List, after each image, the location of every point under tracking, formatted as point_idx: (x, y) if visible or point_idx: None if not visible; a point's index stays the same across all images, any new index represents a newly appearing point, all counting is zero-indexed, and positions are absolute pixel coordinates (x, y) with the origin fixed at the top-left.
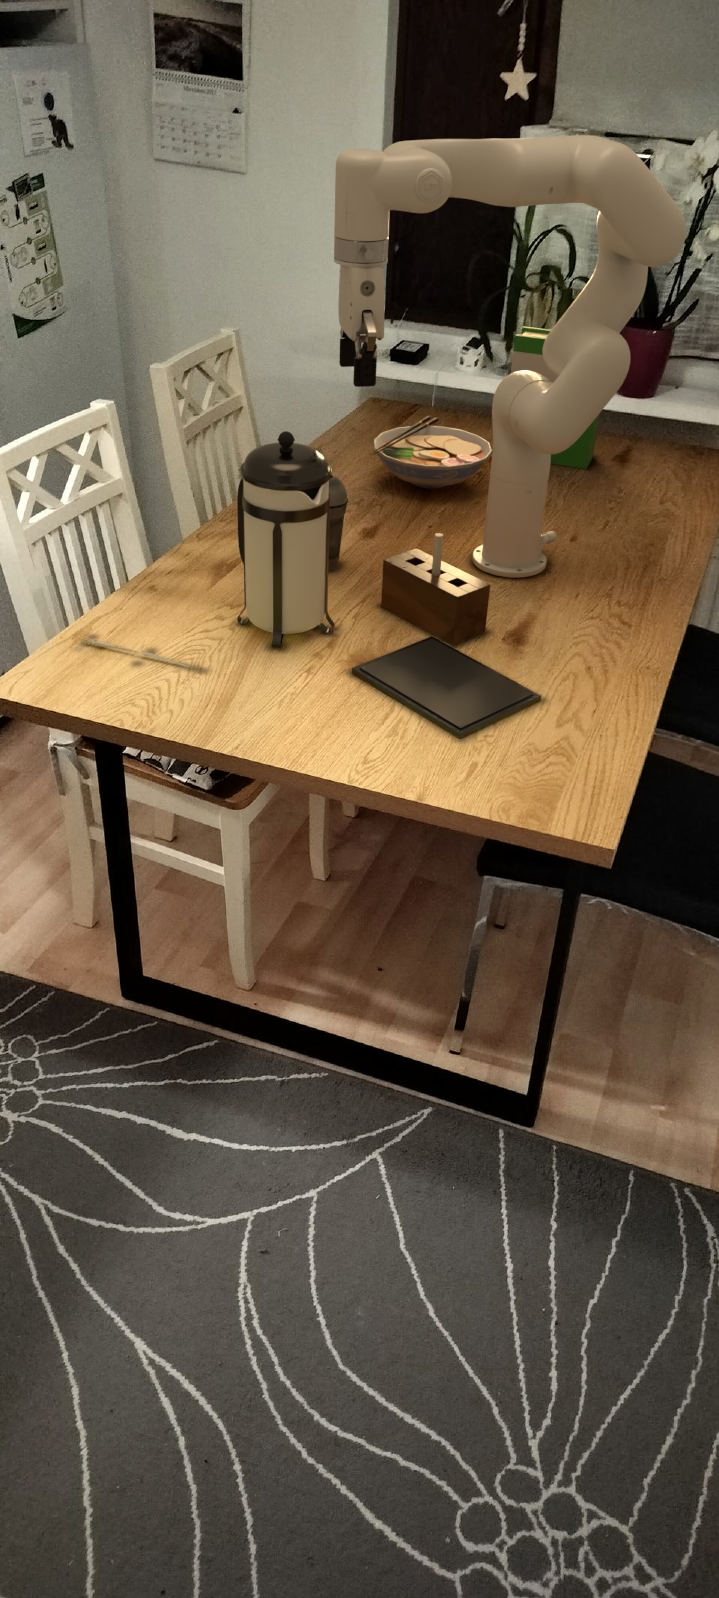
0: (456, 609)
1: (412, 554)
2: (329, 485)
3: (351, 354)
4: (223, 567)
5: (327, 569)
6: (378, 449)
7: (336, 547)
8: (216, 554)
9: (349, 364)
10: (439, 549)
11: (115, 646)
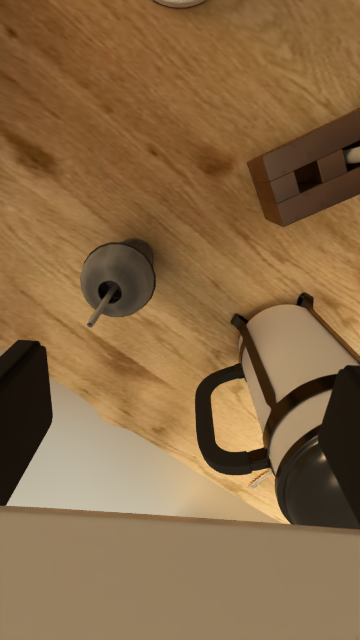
0: None
1: (282, 172)
2: (136, 291)
3: (25, 418)
4: (122, 364)
5: (333, 332)
6: None
7: (149, 251)
8: (87, 365)
9: (48, 393)
10: None
11: (270, 473)
